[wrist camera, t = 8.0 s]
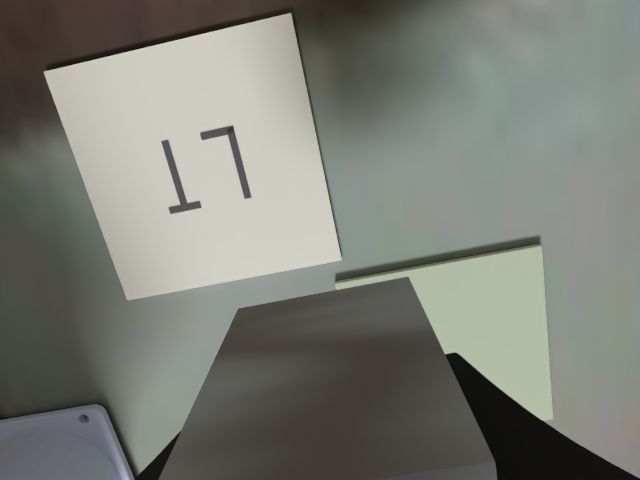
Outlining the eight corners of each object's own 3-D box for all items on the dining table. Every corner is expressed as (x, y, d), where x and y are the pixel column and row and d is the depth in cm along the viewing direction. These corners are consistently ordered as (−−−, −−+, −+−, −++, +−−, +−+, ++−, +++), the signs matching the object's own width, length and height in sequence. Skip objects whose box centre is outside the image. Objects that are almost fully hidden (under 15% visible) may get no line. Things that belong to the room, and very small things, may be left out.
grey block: (279, 446, 12) (235, 730, 7) (238, 308, 11) (141, 515, 6) (432, 421, 12) (525, 701, 6) (408, 276, 11) (495, 461, 5)
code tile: (128, 298, 20) (127, 300, 20) (46, 72, 17) (43, 71, 17) (341, 258, 19) (341, 260, 19) (291, 13, 16) (291, 12, 16)
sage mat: (369, 442, 22) (369, 446, 21) (335, 281, 19) (335, 283, 19) (549, 415, 21) (552, 419, 21) (538, 243, 19) (541, 245, 18)
